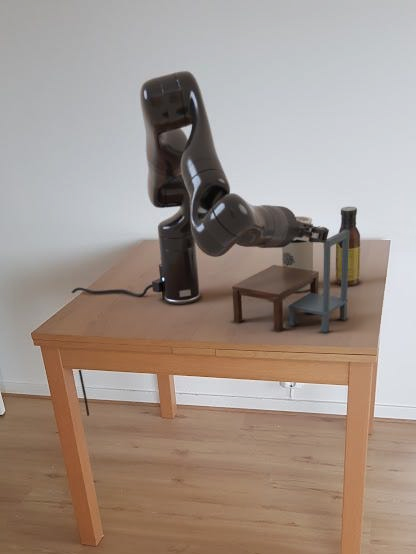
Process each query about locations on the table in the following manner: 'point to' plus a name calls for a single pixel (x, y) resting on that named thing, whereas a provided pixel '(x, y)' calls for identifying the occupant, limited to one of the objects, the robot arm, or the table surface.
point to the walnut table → (274, 288)
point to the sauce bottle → (354, 247)
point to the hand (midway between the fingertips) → (305, 227)
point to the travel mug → (299, 254)
